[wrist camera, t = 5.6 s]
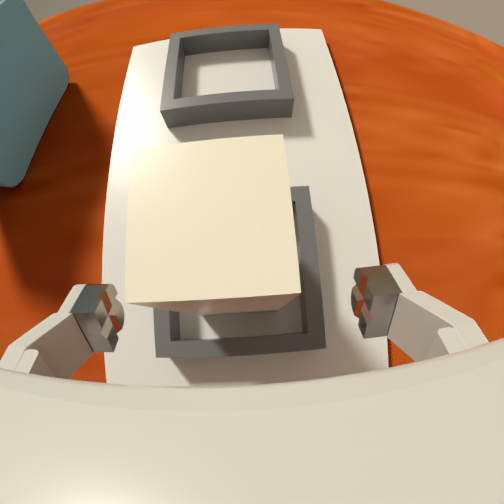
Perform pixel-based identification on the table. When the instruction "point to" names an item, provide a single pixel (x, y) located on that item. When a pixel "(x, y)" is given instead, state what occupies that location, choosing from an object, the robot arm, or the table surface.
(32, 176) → the table surface
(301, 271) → the dock
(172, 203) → the plug block
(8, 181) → the data package
